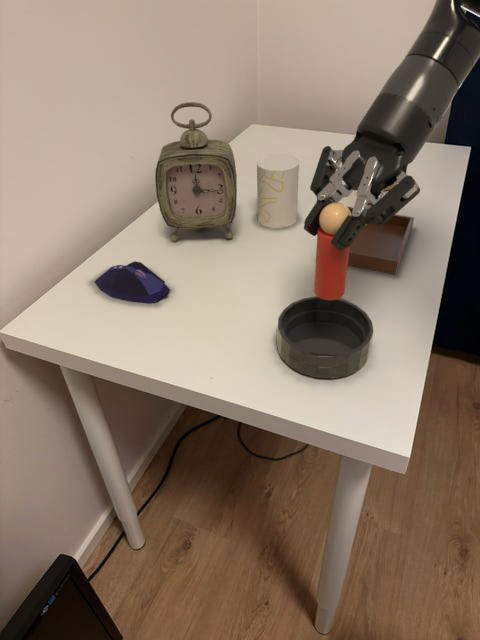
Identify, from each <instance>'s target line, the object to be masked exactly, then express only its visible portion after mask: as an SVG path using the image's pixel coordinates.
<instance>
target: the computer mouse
mask: <svg viewBox="0 0 480 640" xmlns="http://www.w3.org/2000/svg"><path fill="white" fill-rule="evenodd" d="M94 283H95V285H96V286H97V288H98V289H99V290H100V291H101V292H103V293H105V294H106V295H107V296H109V297H110V298H112V299H113V298H114V299H119V300H122V301H127V302H131V303H142V304H152V303H155V302H158V301H159V300H161V299H163V298H164V297H166V295H168V294H169V292H170V291H171V289H170V288H169V286H168V285H166V281H165V280H163V279H162V278H161V277H160V276H159V275H157V274H156V273H155V272H153V271H152V270H151V269H150V268H148V267H147V266H146V265H145V264H143V263H142V262H141V261H137V260H136V261H135V260H134V261H132V262H130V263H128V264H127V265H123V264H117V265H113V266H111V267H110V268H108V269H106V271H105V272H103V274H101V275H100V276H99V277H97V278H96V279H95V280H94Z"/></svg>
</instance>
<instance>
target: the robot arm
mask: <svg viewBox="0 0 480 640" xmlns="http://www.w3.org/2000/svg"><path fill="white" fill-rule="evenodd" d="M463 9H464V10H463ZM465 10H466V11H467V12H470V13H472V14H474V15H476V16H477V17H479V18H480V0H435V3H434V5H433V8H432V9H431V12H430V14H429V17H428V19H427V20H426V23H425V25H424V26H423V28H422V30H421V31H420V33H419V34H418V36H417V37H416V39H415V41H414V42H413V44H412V45H411V47H410V49H409V50H408V52H407V54H406V55H405V57H404V58H403V60H402V61H400V64H399V65H398V66H397V68H395V70H393V72H392V73H391V74H390V76H389V77H388V79H387V80H386V82H385V83H384V85H383V87H382V88H381V89H380V91H379V92H378V94H377V95H376V97H375V99H374V101H372V103H371V104H370V107H369V108H368V110H367V111H366V113H365V114H364V116H363V117H362V119H361V121H360V122H359V124H358V126H357V128H356V132H355V134H356V136H355V139H354V138H353V140H352V141H351V142H350V143H349V144H347V145H345V147H344V149H333V148H332V147H331V146H330V145H326V146H324V147H323V148H322V150H321V152H320V156H319V160H318V162H317V165H316V168H315V171H314V174H313V178H312V180H311V183H310V186H309V188H310V189H309V190H310V191H311V192H312V193H313V194H314V195H315V197H316V202H315V203H314V205H313V206H312V208H311V210H310V211H309V213H308V215H306V217H305V219H304V225H303V229H304V231H306V233H308V234H309V235H312V237H315V236H316V237H317V233H318V228H319V227H320V223H319V217H320V214H321V211H322V210H323V209H324V208H325V207H326V206H327V205H329V204H332V203H340V202H341V201H342V200H343V198H348V197H349V196H351V194H352V193H353V192H354V191H356V200H355V202H354V205H353V207H352V208H353V210H352V216H349V215H348V216H347V217H346V219H345V220H344V222H343V223H342V225H341V226H340V228H339V229H338V231H337V232H336V234H335V236H334V237H333V239H332V240H331V244H332V245H333V246H334V247H335V248H337V249H339V250H340V251H343V250H344V249H345V248H348V247H349V246H350V245H351V244H352V243H353V241H354V240H355V238H356V236H357V235H358V233H359V232H360V230H361V229H362V228H363V226H365V225H367V224H376V225H377V226H382V225H384V224H385V223H386V222H387V221H388V220H389V219H390V218H392V217H393V216H394V215H395V214H396V215H397V213H399V212H400V211H401V210H402V209H403V208H404V207H406V205H407V204H409V203H410V202H411V201H412V200H414V199H415V198H416V197H417V196H418V195H419V194H420V193H421V188H420V186H419V184H418V183H417V181H416V180H415V179H414V177H413V176H412V175H408V174H407V171H408V167H409V165H410V164H411V163H412V162H414V160H415V159H416V157H417V156H418V155H419V153H420V151H421V150H422V149H423V147H424V145H425V144H426V142H427V141H428V139H430V137H431V136H432V134H433V132H434V130H435V128H436V127H437V126H438V124H439V123H440V122H441V120H442V119H443V117H444V115H445V114H446V112H447V111H448V109H449V107H450V105H451V103H452V101H453V99H454V97H455V95H456V94H457V92H458V91H459V89H460V87H461V86H462V85H463V83H464V81H465V80H466V79H467V77H468V75H469V74H470V72H471V71H472V69H473V68H474V66H475V65H476V63H477V62H478V60H479V59H480V28H479V26H478V25H477V24H476V23H475V21H473V19H471V18H470V16H468V15H467V13H466V12H465ZM343 183H344V184H343ZM393 184H394V185H393ZM391 185H393V188H392V189H390V190H388V191H387V192H386V193H385V194H384V191H385V190H384V189H386V188H388V187H389V186H391ZM383 194H384V195H383Z"/></svg>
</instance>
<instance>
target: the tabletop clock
mask: <svg viewBox="0 0 480 640" xmlns="http://www.w3.org/2000/svg"><path fill="white" fill-rule="evenodd" d="M184 108H200V109H203V110H204V111H206V112H207V114H208V118H207V119H206V120H205V121H203V122H201V123H196V120H194V119H192V118H191V119H189V120H188V123H187V124H186V123H181V122H178V120H177V121H176V119H175V117H174V115H175V114H176V112H178V110H181V109H184ZM212 117H213V114H212V112H211V109H210V108H209V107H208V106H207V105H205V104H203V103H201V102H195V101H193V102H192V101H191V102H189V101H188V102H183V103H180V104H178V105H176V106H175V107H174V108H173V109H172V111H171V113H170V119H171V121H172V123H173V124H174V125H176V126H177V127H179V128H182V129H186V130H185V131H183V132H182V133H181V136H180V139H179V140H178V141H177V140H176V141H171V142H168V143H167V144H165V145H163V146H162V148H161V150H160V154H159V157H158V159H157V163H156V167H155V176H154V177H155V178H154V179H155V181H154V182H155V192H156V199H157V202H158V203H157V204H158V207H159V210H160V214H161V216H162V217H161V218H162V219H163V221H164V222H165V224H166V226H168V227H171V228H174V229H175V231H174V232H173V233H171V234H170V240H171V241H172V242H178V241H179V240H180V239H179V238H180V237H179V234H178V233H179V232H180V229H181V230H205V229H214V228H223V230H224V231H225V234H224V237H225V239H226V240H231V239H233V237H234V234H233V232H232V231H231V230H229V229H228V225H231V224H233V221H234V220H235V217H236V212H237V195H238V189H237V188H238V182H237V178H238V177H237V169H236V167H237V166H236V160H235V159H236V158H235V156H234V151H233V150H232V147H231V145H230V143H229V142H226V141H223V140H220V139H219V140H218V139H208V136H207V135H206V133H205V132H204V131H203V130H201V128H203V127H205V126H207V125H208V124H209V123H210V122H211V120H212Z"/></svg>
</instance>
